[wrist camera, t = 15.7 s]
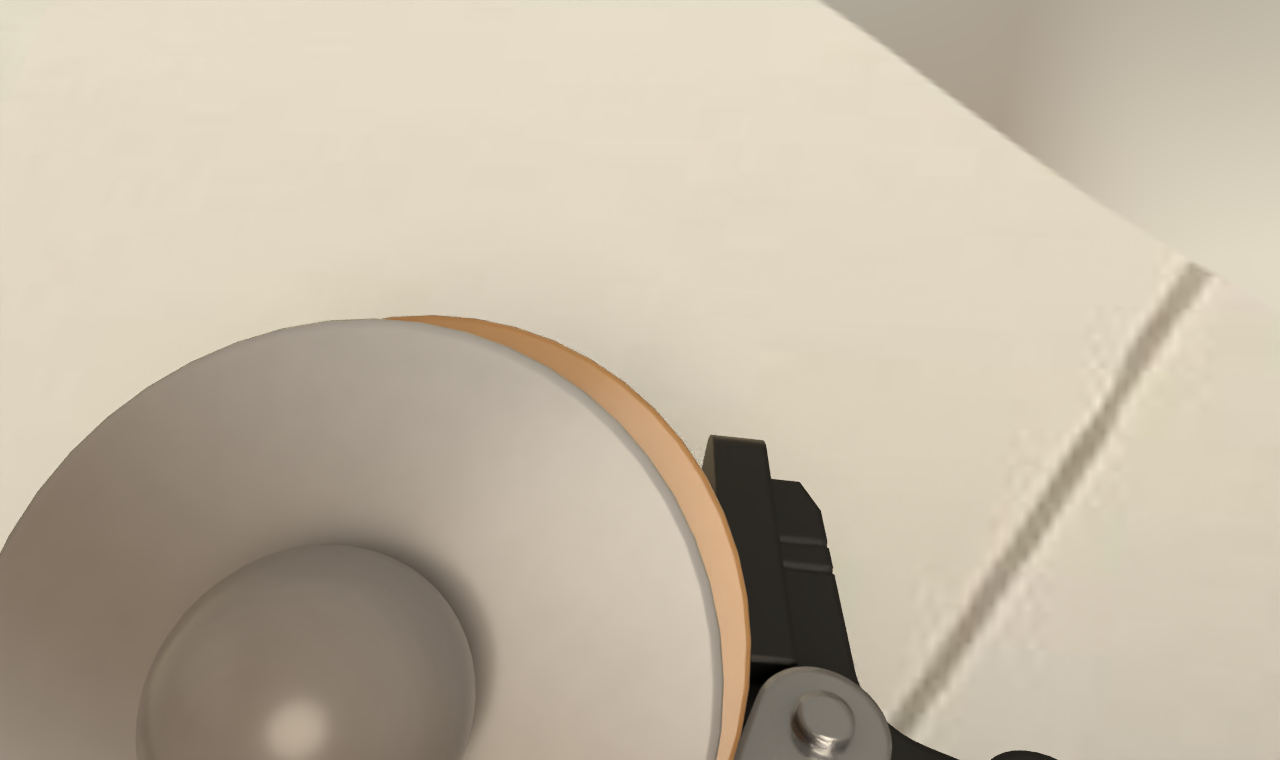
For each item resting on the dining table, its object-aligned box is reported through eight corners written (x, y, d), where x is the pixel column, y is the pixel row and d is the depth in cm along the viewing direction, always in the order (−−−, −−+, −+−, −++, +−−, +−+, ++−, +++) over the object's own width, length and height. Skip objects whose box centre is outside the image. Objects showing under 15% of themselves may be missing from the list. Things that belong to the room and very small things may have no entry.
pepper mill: (505, 389, 17) (221, -61, 4) (711, 552, 17) (1115, 619, 4) (328, 602, 16) (-765, 884, 3) (543, 779, 16) (299, 1930, 3)
